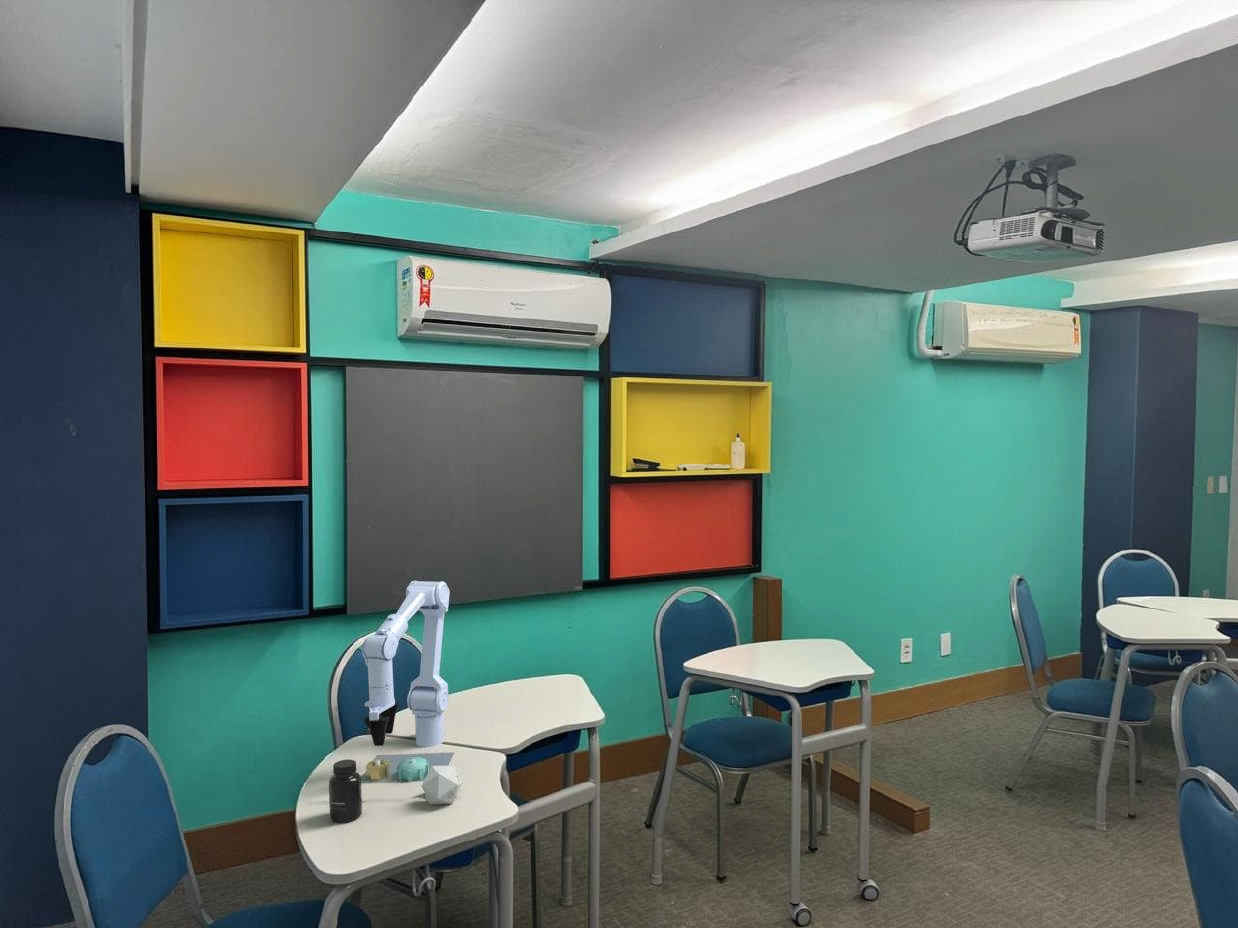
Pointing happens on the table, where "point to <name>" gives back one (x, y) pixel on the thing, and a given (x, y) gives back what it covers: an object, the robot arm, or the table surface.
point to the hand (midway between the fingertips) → (383, 739)
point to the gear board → (400, 757)
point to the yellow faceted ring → (377, 770)
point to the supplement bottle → (345, 792)
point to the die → (441, 784)
